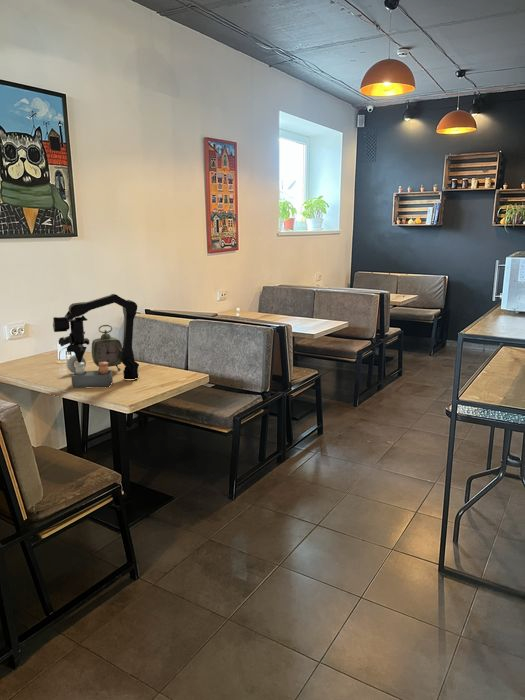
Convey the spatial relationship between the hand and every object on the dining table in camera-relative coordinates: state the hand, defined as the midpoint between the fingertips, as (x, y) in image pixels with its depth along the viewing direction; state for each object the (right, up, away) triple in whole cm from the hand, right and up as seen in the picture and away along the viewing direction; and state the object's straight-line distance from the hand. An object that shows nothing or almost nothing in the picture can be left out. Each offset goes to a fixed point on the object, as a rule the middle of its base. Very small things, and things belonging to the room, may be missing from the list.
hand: (79, 362), depth 244 cm
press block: (+5, -11, +3) cm, 13 cm away
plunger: (0, -6, +1) cm, 6 cm away
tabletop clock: (+5, -5, +29) cm, 30 cm away
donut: (-10, -6, +25) cm, 27 cm away
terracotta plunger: (+11, -6, +2) cm, 12 cm away
